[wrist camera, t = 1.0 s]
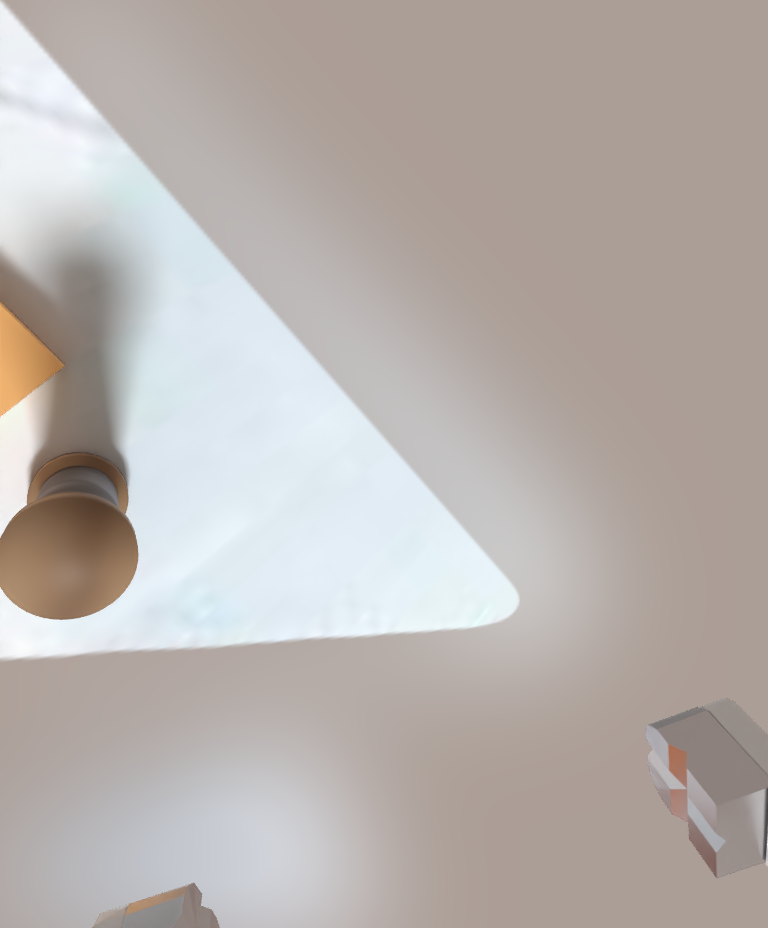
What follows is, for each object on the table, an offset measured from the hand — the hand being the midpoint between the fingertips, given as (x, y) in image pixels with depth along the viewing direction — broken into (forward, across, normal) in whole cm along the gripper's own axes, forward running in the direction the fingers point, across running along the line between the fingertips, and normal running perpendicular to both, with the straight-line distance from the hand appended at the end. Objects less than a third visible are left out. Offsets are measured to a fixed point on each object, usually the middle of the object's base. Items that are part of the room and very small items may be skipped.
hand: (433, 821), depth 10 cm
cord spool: (+35, +19, +4) cm, 40 cm away
